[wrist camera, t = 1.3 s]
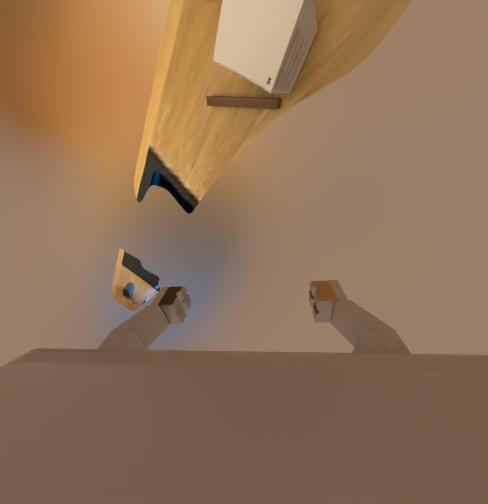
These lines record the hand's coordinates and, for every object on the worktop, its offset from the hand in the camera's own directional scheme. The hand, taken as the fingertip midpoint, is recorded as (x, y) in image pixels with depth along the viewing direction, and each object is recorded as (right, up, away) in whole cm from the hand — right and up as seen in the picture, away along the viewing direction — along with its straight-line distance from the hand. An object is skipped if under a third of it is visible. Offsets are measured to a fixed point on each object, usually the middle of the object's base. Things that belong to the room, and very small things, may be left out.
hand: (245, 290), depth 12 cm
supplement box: (+7, +39, +21) cm, 45 cm away
